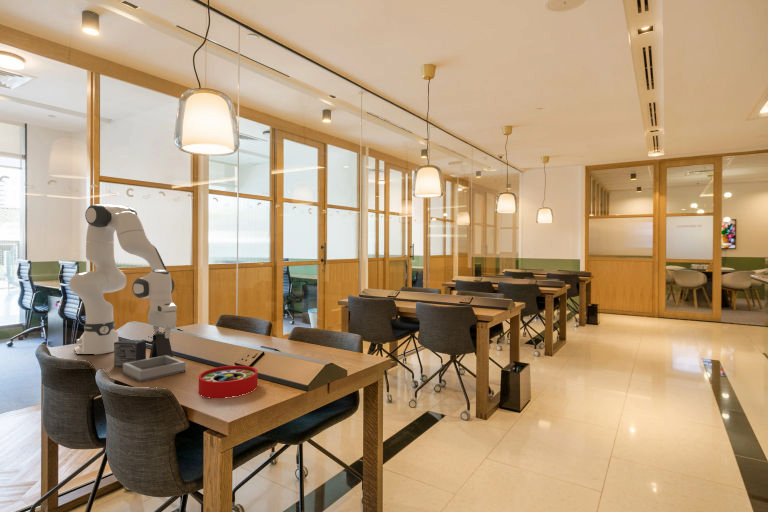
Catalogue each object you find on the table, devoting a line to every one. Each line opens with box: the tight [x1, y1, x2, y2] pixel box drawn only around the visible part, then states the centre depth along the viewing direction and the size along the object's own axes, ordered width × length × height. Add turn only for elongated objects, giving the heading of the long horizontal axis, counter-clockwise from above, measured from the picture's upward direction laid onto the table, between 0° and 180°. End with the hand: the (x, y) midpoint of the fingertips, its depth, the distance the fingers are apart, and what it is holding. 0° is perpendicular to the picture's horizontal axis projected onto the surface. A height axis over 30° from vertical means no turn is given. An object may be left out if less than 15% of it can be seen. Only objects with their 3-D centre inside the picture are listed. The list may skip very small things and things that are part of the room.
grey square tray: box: [122, 355, 186, 383], centre depth 169 cm, size 17×17×4 cm
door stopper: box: [148, 332, 174, 359], centre depth 187 cm, size 9×6×12 cm, turn 60°
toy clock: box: [198, 365, 258, 399], centre depth 151 cm, size 20×6×20 cm
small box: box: [113, 339, 147, 368], centre depth 179 cm, size 11×6×10 cm, turn 84°
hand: (161, 336), depth 187 cm, fingers open, 8 cm apart
